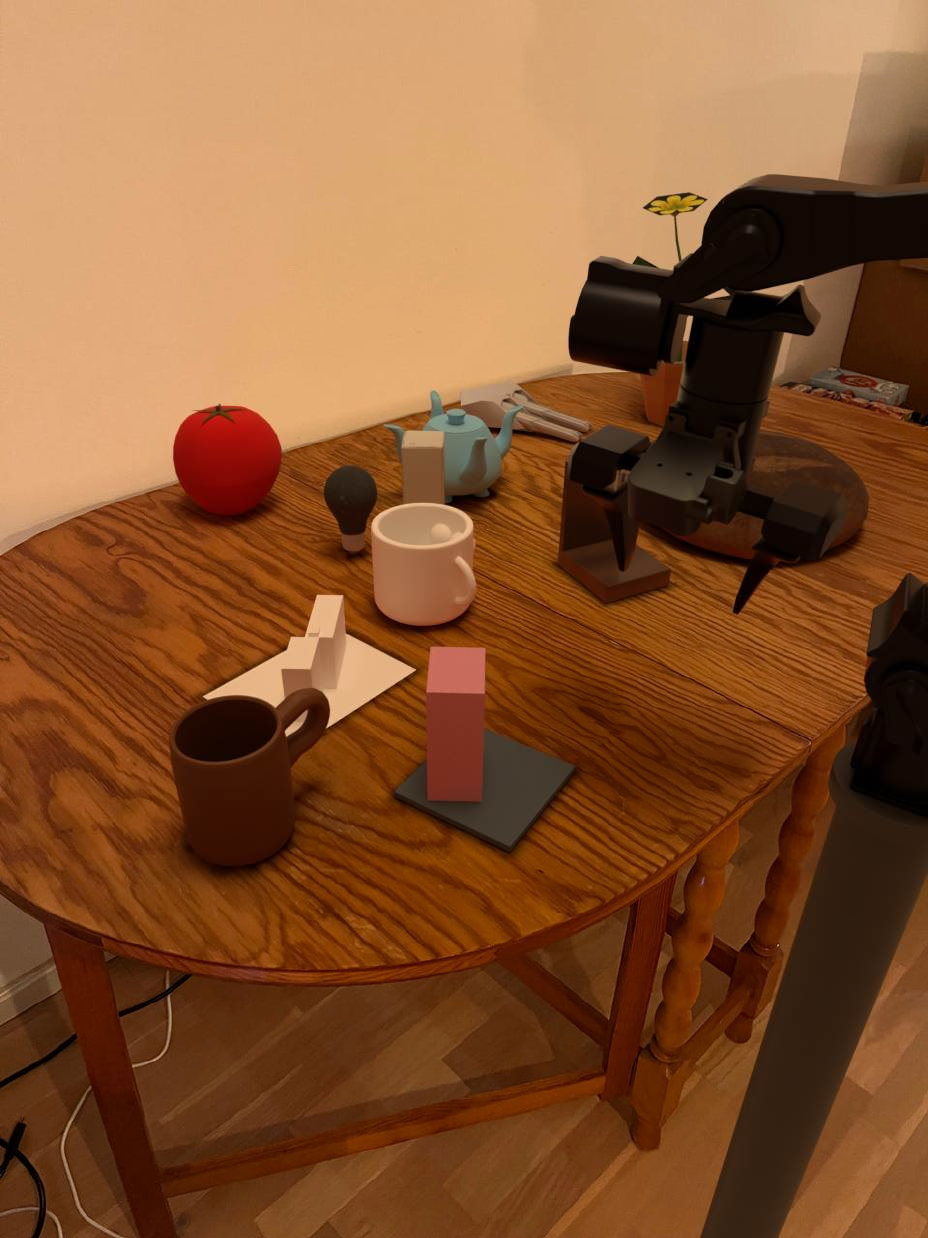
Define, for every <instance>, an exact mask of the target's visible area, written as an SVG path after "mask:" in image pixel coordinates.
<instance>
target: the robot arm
mask: <svg viewBox="0 0 928 1238" xmlns="http://www.w3.org/2000/svg"><path fill="white" fill-rule="evenodd" d="M702 229H703V230H702V236H701V245H700V246H699V247H697V249H696V250H695V251H693V252H690V253H689V254H687V255H686V256H685V257H684V258H681V259H682V260H681V261H680V262H679V261H678V262H677V263H675V265H673V269H666V268H660V267H658V268H654V267H648V266H642V265H635V264H633V263H630V262H626V261H624V260H622V259H619V258H616V257H612V256H605V255H600V256H597V258H595V259H593V260H592V261H590V262H589V263H588V269H587V276H586V280H585V282H584V284H583V286H582V288H581V291H580V294H579V296H578V300H577V304H576V306H575V310H574V314H573V315H572V316H571V317H570V319H569V327H568V338H567V345H568V346H567V348H568V354H569V357H570V359H571V360H572V361H573V362H577V363H581V364H587V365H592V366H596V367H602V368H607V369H612V370H616V371H617V370H618V371H622V372H627V373H632V374H638V375H640V374H642V375H647V376H654V375H655V374H656V373H657V371H658V369H659V367H660V365H661V363H662V361H664V363H669V364H673V363H674V362H675V361H676V359H677V357H678V354H679V351H680V348H681V345H682V342H683V341H684V338H685V333H686V328H687V324H688V322H687V321H688V317H692V318H691V326H690V330H689V335H688V340H687V341H688V345H687V350H686V355H685V360H684V365H683V371H682V376H681V381H680V386H679V391H678V396H677V401H676V402H675V403H673V404H672V405H670V406H669V411H668V414H667V415H666V419H665V424H664V426H662V429H661V431H660V432H659V434H658V436H657V437H656V439H655V440H656V441H655V443H653V444H652V445H651V442H652V441H651V439H650V437H649V435H647V434H642V433H639V432H635V431H632V430H628V429H625V428H622V427H619V426H615V425H613V424H606V425H604V426H603V427H601V428H600V429H598V430H596V431H594V432H593V433H591V434H589V435H588V436H586V437H585V438H582V440H580V441H578V442H576V443H575V444H574V445H573V446H572V449H571V450H570V453H569V454H568V458H567V459H568V467H567V474H566V476H567V477H568V479H569V480H570V481H573V482H576V483H579V484H582V486H581V489H582V491H583V493H584V494H586V495H589V496H591V497H592V498H594V499H595V500H596V501H597V502H598V503H599V504H600V505H601V506H602V508H603V510H604V513H605V515H606V518H607V521H608V524H609V528H610V532H611V537H612V541H613V546H614V550H615V555H616V559H617V564H618V568H619V571H622V572H625V571H626V570H627V569H628V568H629V566H630V563H631V560H632V557H633V554H634V551H635V547H636V545H637V541H638V536H639V530H640V525H641V524H644V523H646V524H649V525H653V526H655V527H658V528H660V527H661V528H660V529H662V528H664V529H667V530H668V531H669V532H670V533H672V534H675V535H678V536H688V535H691V534H693V533H695V532H696V531H697V530H698V529H699V527H700V525H701V523H705V524H708V525H709V524H710V523H711V522H712V521H716V522H720V523H723V524H726V525H727V524H729V523H730V522H731V520H732V519H733V517H734V516H735V514H736V513H737V511H738V512H741V513H744V514H747V515H750V516H754V517H757V518H760V519H763V520H764V522H763V525H762V529H761V534H762V537H761V538H760V539H759V540H758V541H757V542H756V543H755V544H754V545H753V546H752V558H751V559H750V561H749V562H748V565H747V567H746V570H745V573H744V576H743V578H742V581H741V583H740V586H739V588H738V590H737V593H736V595H735V600H734V604H733V608H732V614H734V615H736V616H737V615H739V614H740V613H741V612H742V611H743V609H744V608H745V607H746V605H747V604H748V602H749V601H750V600H751V598H752V597H753V596H754V595H755V593H756V592H757V590H758V589H759V587H760V586H761V585H762V583H763V582H764V580H765V579H766V578H767V577H768V575H769V574H770V572H771V571H772V570H773V568H774V567H775V566H776V565H777V564H779V563H780V562H784V563H788V564H795V563H797V562H799V561H800V560H801V559H804V560H820V559H821V557H822V556H823V555H824V553H825V552H826V551H828V550H827V548H828V547H829V546H830V544H831V543H832V542H833V541H834V539H835V538H836V537H837V535H838V534H839V533H840V532H841V530H842V527H843V524H844V521H845V518H846V514H847V511H848V503H847V501H846V499H845V497H844V495H843V494H842V493H839V492H836V491H832V490H829V489H825V488H822V487H819V486H815V485H812V484H809V483H805V482H802V481H798V480H795V479H794V480H793V481H792V482H791V483H790V484H789V485H788V486H787V487H786V488H785V489H784V490H783V491H782V492H781V493H780V494H778V493H775V492H772V491H769V490H765V489H762V488H759V487H755V486H752V485H749V484H747V479H748V475H749V474H750V473H751V472H752V471H753V467H754V463H755V459H756V458H754V457H753V455H754V451H755V447H756V443H757V439H758V435H759V431H760V430H761V427H762V424H763V419H765V418H766V417H767V415H768V413H769V412H768V411H769V407H770V404H771V401H770V400H769V399H768V398H769V395H770V391H771V390H770V389H771V387H772V382H773V379H774V374H775V371H776V367H777V363H778V359H779V356H780V351H781V347H782V344H783V343H782V342H783V340H784V336H785V333H786V334H791V335H797V336H802V337H811V336H813V334H814V333H815V332H816V330H817V327H818V325H819V324H820V321H821V320H822V314H821V313H820V312H819V310H818V309H817V308H816V307H815V306H814V304H813V303H812V301H810V299H809V297H808V295H807V292H806V287H805V286H804V285H803V284H797V285H796V286H795V287H794V288H793V289H792V290H790V291H789V292H788V293H786V294H783V295H777V294H769V293H764V292H758V291H763V290H767V289H771V288H776V287H781V286H785V285H789V284H792V283H793V284H794V283H799V282H802V281H806V280H810V279H814V278H817V277H821V276H823V275H826V274H827V275H828V274H830V273H833V272H835V271H839V270H844V269H846V268H850V267H853V266H858V265H862V264H867V263H872V262H884V261H886V262H887V261H901V260H902V261H903V260H917V259H919V260H920V259H928V181H918V182H909V183H908V182H906V183H896V184H885V185H877V184H867V183H856V182H850V181H844V180H837V179H833V178H832V179H831V178H825V177H814V176H813V177H812V176H800V175H790V174H778V173H768V174H764V175H760V176H757V177H753V178H751V179H749V180H747V181H745V182H744V183H743V184H740V185H739V186H738V187H736V188H735V189H733V190H732V191H730V192H729V193H727V194H726V195H724V196H723V197H721V199H720V200H719V201H718V202H717V203H716V205H714V207H713V208H712V210H710V212H709V214H708V217H707V219H706V220H705V223H704V225H703V228H702ZM726 287H728V288H730V289H733V290H737V291H736V292H735V294H734V296H733V298H732V300H718V299H711V298H708V297H709V296H711V295H713V294H715V293H717V292H719V291H721V290H724V288H726ZM687 315H688V317H687ZM670 533H669V534H670ZM672 534H671V535H672ZM866 647H867V648H866V653H865V654H866V662H865V670H864V675H863V676H864V677H863V683H864V688H865V692H866V694H867V695H868V697H869V698H870V700H871V701H872V703H874V704H875V705H876V706H877V708H876V707H870V708H869V709H868V710H867V712H866V715H865V717H864V719H863V721H862V724H861V727H860V729H859V734H858V737H857V739H856V741H857V743H856V746H855V749H854V752H853V755H852V759H851V762H850V766H851V767H852V768H854V769H855V771H854V773H853V776H852V778H851V781H850V784H849V787H850V789H851V790H853V791H855V792H858V793H860V794H863V795H866V796H869V797H871V798H874V799H877V800H879V801H882V802H885V803H887V804H890V805H893V806H895V807H898V808H901V809H903V810H906V811H909V812H912V813H914V814H917V815H920V816H922V817H925V818H928V582H925V583H924V582H923V581H922V580H920V579H919V578H918V577H916V575H915V574H913V573H912V572H907V573H906V574H905V575H904V577H903V578H902V580H901V581H900V583H899V585H898V586H897V588H896V590H895V591H894V592H893V593H892V595H891V596H889V598H888V599H886V600H885V601H884V602H882V603H880V604H878V605H876V606H874V607H873V608H872V615H871V620H870V627H869V633H868V640H867V646H866Z"/></svg>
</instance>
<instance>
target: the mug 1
mask: <svg viewBox="0 0 928 1238" xmlns="http://www.w3.org/2000/svg"><path fill="white" fill-rule="evenodd" d="M306 710H308V712H307V716H306V719H305V721H304V723H303V724H302V726H301V727H300V728H299V729H298V730H296V731H295V732H293V733H291V734H290V735H288V736H287V737H286V734H285V730H286V729H287V728H288V727H289V726H290V725H291V724H292V723H293V722H294V721H295V720H296V719H297V718H299V717H300V716H301V715H302V714H303V713H304V712H305V711H306ZM329 718H330V705H329V701H328V699H327V697H326V696H325V694H324V693H323V692H322V691H320V690H318V689H315V688H313V687H312V688H304V689H300V690H297V691H295V692H293V693H291V694H289V695H288V696H287V697H286V698H285V699H284V700H283V701H282V702H281V703H280V704H279V705H278V706H277V707H276V708H275V707H274V706H273V705H271V704H270V703H268V702H266V701H264V700H262V699H259V698H256V697H252V696H245V695H229V696H221V697H216V698H212V699H209V700H207V699H205V700H204V701H201V702H198V703H197V704H195V705H193V706H190V707H189V708H188V709H186V710H185V711H184V712H183V713H181V714H180V715H179V716H178V717H177V718H176V720H175V721H174V722H173V724H172V726H171V728H170V731H169V734H168V745H169V752H170V753H169V754H170V764H171V769H172V774H173V778H174V783H175V788H176V793H177V798H178V803H179V806H180V811H181V815H182V819H183V822H184V823H183V824H184V830H185V833H186V836H187V839H188V842H189V844H190V846H191V848H192V850H193V851H194V852H195V853H196V854H197V855H198V856H200V858H201V859H204V861H207V862H209V863H212V864H214V865H218V866H221V867H222V866H223V867H231V868H234V867H244V866H249V865H254V864H256V863H259V862H262V861H264V860H267V859H268V858H270V857H272V856H273V855H275V854H276V853H277V852H279V851H280V850H281V849H282V848H283V847H284V846H285V844H286V843H287V842H288V841H289V839H290V837H291V836H292V834H293V831H294V828H295V824H296V808H295V807H296V806H295V797H294V788H293V778H292V777H293V776H292V771H291V769H292V768H293V766H294V765H295V763H297V761H298V760H299V758H300V757H301V756H302V755H303V754H305V753H306V752H308V751H310V750H311V749H312V748H313V747H314V746H315V745H316V744H317V743H318V742H319V741H320V739H321V738H322V737H323V735H324V733H325V732H326V730H327V728H326V727H327V725H328V722H329Z"/></svg>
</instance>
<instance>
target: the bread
mask: <svg viewBox="0 0 928 1238" xmlns="http://www.w3.org/2000/svg"><path fill="white" fill-rule="evenodd" d="M655 441H656V439H654V440H652V441H650V442H651V445H652V444H653V443H655ZM753 457H754V458H756V459H755V463H754V467H753V471H752V472H751V473H750V474H749V475H748V479H747V484H749V485H752V486H755V487H759V488H762V489H765V490H769V491H772V492H775V493H778V494H780V493H781V492H782V491H783V490H784V489H785V488H786V487H787V486H788V485H789V484H790V483H791V482H792V481H793V480H794V479H795V480H798V481H802V482H805V483H809V484H812V485H815V486H819V487H822V488H825V489H829V490H832V491H836V492H839V493H842V494H843V495H844V497H845V499H846V501H847V503H848V511H847V514H846V518H845V521H844V524H843V527H842V530H841V532H840V533H839V534H838V535H837V537H836V538H835V539H834V541H833V542H832V543H831V544H830V546H829V547H828V548H827V550H826V551H828V550H830V549H832V548H834V547H837V546H839V545H841V544H844V543H846V541H848V540H849V539H851V538H852V537H853V536H854V535H855V534H856V533H857V532H858V530H859V529H860V528H861V526H862V525H863V524H864V522H865V521H866V520H867V518H868V513H869V503H870V496H869V493H868V490H867V487H866V486H865V482H864V480H863V479H862V478H861V477H860V476H859V474H858V472H856V471H855V470H854V469H853V468H852V467H851V466H850V465H849V464H848V463H846V462H845V460H843V459H842V458H840V457H838V456H837V455H835V454H834V453H832V452H831V451H829V450H828V449H827V448H825V447H823V446H822V445H820V444H818V443H815V442H813V441H810V440H808V439H805V438H802V437H800V436H795V435H791V434H787V433H784V432H783V433H782V432H777V431H771V430H766V429H760V431H759V435H758V439H757V443H756V447H755V451H754V455H753ZM763 522H764V520H763V519H760V518H757V517H754V516H750V515H747V514H744V513H741V512H738V511H737V513H736V514H735V516H734V517H733V519H732V520H731V522H730V523H729V524H727V525H726V524H723V523H720V522H716V521H712V522H711V523H710V524H709V525H708V524H705V523H701V525H700V527H699V529H698V530H697V531H696V532H695V533H693V534H691V535H688V536H678V535H675V534H672V533H670V532H669V531H668V530H667V529H664V528H661V527H659V528H660V529H662V530H663V531H665V532H667V533H669V534H670V535H672V536H673V537H675V538H677V539H678V540H680V541H683V542H686V543H688V544H690V545H693V546H696V547H698V548H701V549H704V550H707V551H711V552H715V553H717V554H721V555H726V556H729V557H735V558H739V559H745V560H751V558H752V546H753V545H754V544H755V543H756V542H757V541H758V540H759V539H760V538H761V537H762V534H761V529H762V525H763Z"/></svg>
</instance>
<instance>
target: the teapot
mask: <svg viewBox="0 0 928 1238" xmlns="http://www.w3.org/2000/svg"><path fill="white" fill-rule="evenodd" d="M429 396H430V402H431V404H430V405H431V408H430V417H429V420H428V421H427V422H426V424H424V427H423V428H422V430H421V431H444V469H445V504H448V503H451V502H452V501H453V496H467V495H473V496H475V497H477V498H485V497H488V496H490V492H489V490H488V489H489V488H490V487H491V486H492V485H493V484H494V483H495V482H496V481H497V480H498V479H499V478H500V476H501V474H502V471H503V461H502V460H503V459H504V458H505V457H507V455H508V453H509V452H510V450H511V447H512V442H513V429H512V427H513V421H514V418H515V416H516V414H517V413H518V412H519V411H520V410H521V409H522V408H523V407H524V405H519V406H516V407H513V408H511V409H510V410H508V411H507V413H506V414H505V416H504V418H503V422H502V428H500V431H499V433H498V435H496V437H494V436H493V434H492V432H491V430H490V429H489V427H487V426H486V424H485V423H484V422H483V421H482V420H481V419H480V418H478V417H476V416H473V415H468V414H466V412H465V411H464V410H462V409H461V408H452V409H448V410H446V413H445V412H444V408H443V404H442V399H441V396H440V394H439V393H438V391H436V390H433V389H432V390H431V391H430V393H429ZM382 426H383V427H384V428H386V429H388V430H389V431H390V432H391V433H392V434H393V436H394V439H395V445H396V455H397V457H398V460H399V462H400V464H401V465H402V456H401V447H402V441H403V436H404V433H405V430H404V429H403V428H402V427H400V426H399V425H396V424H388V423H387V424H386V423H385V424H383V425H382Z"/></svg>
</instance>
